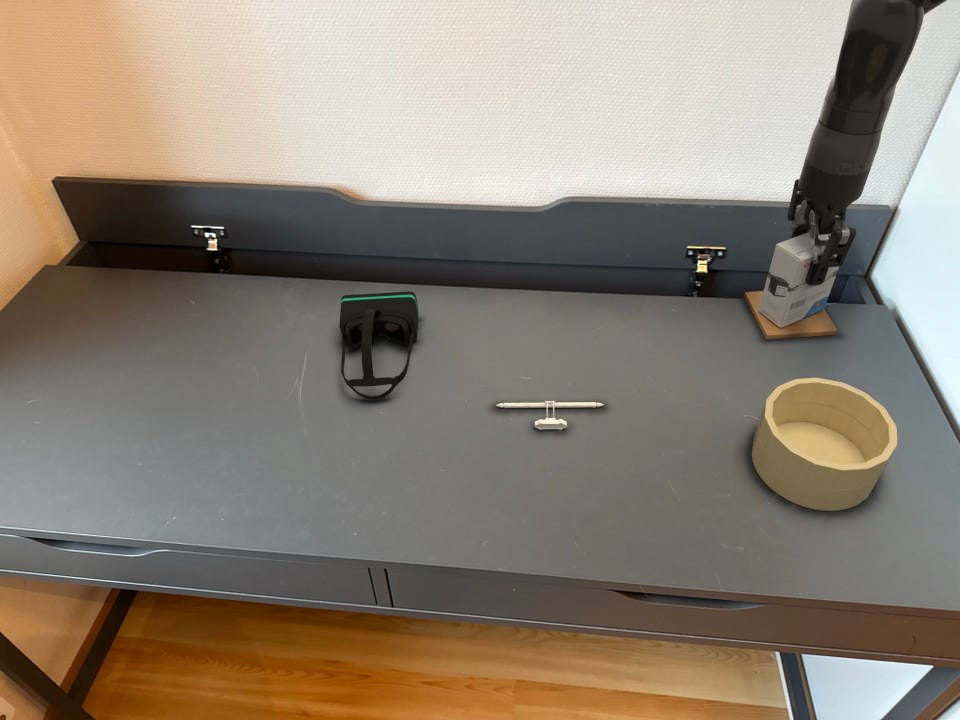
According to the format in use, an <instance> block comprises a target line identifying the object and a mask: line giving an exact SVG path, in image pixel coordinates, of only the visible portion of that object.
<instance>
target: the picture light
mask: <svg viewBox="0 0 960 720" xmlns="http://www.w3.org/2000/svg"><path fill="white" fill-rule="evenodd" d="M602 406H604V403H601V402H596V401H592V402H591V401H590V402H587V401H586V402H579V401H577V402H575V401H574V402H556V401H555V400H554V399H553V400H551V401H550V400H545V401H544V402H501V403H497V404H496V405H495V407H498V408H502V409H503V408H504V409H529V408H530V409H531V408H533V409H534V408H536V409H539V408H540V409H541V408H546V417H545V418H544V419H542V418H540V419H538V420H535V421H534V428H535V429H538V430H540V431H541V430H559V431H563V429H567V427H568V422H567V421H566V420H564V419H562V418H559V419H557V418H556V417H555V408H592V409H593V408H594V409H595V408H600V407H602ZM548 408H550V409H551V408H552V414H553V416H552V417H548V416H549V411H548V410H549V409H548Z"/></svg>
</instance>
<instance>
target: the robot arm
mask: <svg viewBox="0 0 960 720" xmlns="http://www.w3.org/2000/svg"><path fill="white" fill-rule="evenodd" d="M947 1H948V0H851V4H850V7H849V11H848V17H847V22H846V26H845V29H844V34H843V38H842V42H841V46H840V51H839V54H838V59H837V63H836V67H835V71H834V74H833V76H832V78H831V80H830V82H829V84H828V87H827V89H826V93H825V96H824V99H823V103H822V106H821V109H820V114H819V117H818V120H817V123H816V124H815V127H814V129H813V131H812V134H811V136H810V137H811V138H810V140H809V144H808V147H807V151H806V154H805V157H804V161H803V165H802V168H801V172H800V176H799V178H798V179H795V180H794V184H793V189H792V193H791V197H790V202H789V207H788V211H787V220H788V221H789V222H790V221H791V224H790V230H791V231H792V233H791V236H790V239H792V238H794V237H797V236H800V235H803V234H805V233H808V232H810V244H811V245H812V246H813V260H812V261H811V264H810V267H809V270H808V274H807V277H806V280H805V281H806V283H807V285H809V286H811V285H821V284H822V283H823V282H824V280H825V277H826V275H827V272H828V269H829V267H839V268H840V267H842V266H843V264H844V262H845V260H846V257H847V256H848V253H849V251H850V249H851V247H852V245H853V243H854V240H855V238H856V235H857V230H856V228H855V227H847V225H846V223H845V221H846V219H847V218H846V217H847V208H848V207H850V206H851V204H854V202H856V201H857V200H859V199H860V198H861V196H862V195H863V192H864V189H865V186H866V184H867V181H868V178H869V176H870V172H871V169H872V166H873V164H874V161H875V159H876V155H877V152H878V150H879V146H880V143H881V137H882V133H883V128H884V125H885V123H886V120H887V118H888V114H889V111H890V108H891V106H892V104H893V101H894V96H895V92H896V89H897V84H898V82H899V80H900V79H901V76H902V75H903V73H904V70H905V68H906V66H907V64H908V62H909V59H910V58H911V56H912V53H913V50H914V49H915V46H916V44H917V40H918V38H919V35H920V33H921V30H922V27H923V22H924V18H925V17H924V16H926V15H927V14H928V13H929V12H931V11H933V10H934V9H936V8H937V7H939V6H941V5H942V4H944V3H945V2H947ZM798 206H800V207H799V208H798ZM797 208H798V209H797ZM828 234H829V235H828ZM818 235H828V238H827V239H819V237H818ZM825 245H826V247H825V249H824V251H823V254H821V247H822V246H825ZM836 254H837V256H836Z"/></svg>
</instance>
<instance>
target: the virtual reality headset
mask: <svg viewBox="0 0 960 720" xmlns="http://www.w3.org/2000/svg"><path fill="white" fill-rule="evenodd" d="M339 311H340V312H339V325H338V326H339V330H340V331H339V332H340V333H341V337H342V352H341V361H340V362H341V363H340V365H341V366H340V372H341V376H342V378H343V380H344V382H345V384H346V386H347V387H349V388H350V389H351V390H352V391H353V392H354V393H355V394H357V395H358V396H360V397H361V398H363V399H365V400H371V401H377V400H382V399H385V398H386V397H388V396H389V395H390V394H391V393H392V392H393V391H394V390H395V388H396V387H397V386H398V385H399V384H400V383H401V382H402V381H403V380H404V378H405V377H406V376H407V373H408V369H409V366H410V358H411V352H412V348H413V343H414V342H415V341H417V339H418V327H419V315H420V313H419V304H418V299H417V295H416V293H414V291H411V290H410V291H395V292H394V291H391V292H378V293H360V294H359V293H358V294H345V295H342V297H341V298H340V310H339ZM381 336H384V337H386V338H388V341H389V342H391V343H395V344H398V345H400V346H403V347H405V348H407V349H408V350H407V355H406V363H405V365H404V368H403V369H402V371H401V372H400V373H399V374H398V375H395V376H394V377H392V376H386V377H385V376H383V377H376V375H374V368H373V350H372V349H373V348H372V343H373V342H374V339H376V338H378V337H381ZM346 345H347V348H348V350H349V351H353V352H354V351H356V350H358V349H360V350H361V366H362V368H361V369H362V373H363V375H362V378H351V379H347V378H346V375H345V362H346V361H345V360H346ZM388 385H391V386H390V388H388V389H387V390H386V391H384V392H383V393H381V394H378V395H367V394H364V393H361V392H360V391H358V390H357V389H355V388H354V387H359V388H360V387H362V388H363V387H364V388H365V387H378V386H388Z"/></svg>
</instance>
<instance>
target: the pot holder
mask: <svg viewBox="0 0 960 720" xmlns="http://www.w3.org/2000/svg"><path fill="white" fill-rule="evenodd" d="M763 291H764V290H757V291H756V290H755V291H745V292H744V294H743V297H744V300H745V301H746V303H747V305H748V307H749V309H750V311H751V314H752V315H753V317H754V319H755V321H756V323H757V325H758V326H759V329H760V330H761V333H762V334H763V337H764V338H765V340H777V339H778V340H780V339H794V338H809V337H822V336H823V337H825V336H837V334H838V331H839V330H838V328H837V327H836V325H835V324H834V322H833V321H832V319H831V317H830V316H829V314H828V312H827V311H826V310H825V308H824V310H822V311H820V312H817V313H815V314H813V315H810V316H808V317H806V318H803V319H801V320H799V321H797V322H794V323H792V324H790V325H787V326H785V327H783V328H780V327H778V326H777V325H776V324H774V323H773V322H772V321H771V320H769V319H768V318H767V317H766V316H764V315H763V314H762V313H761V312H759V311H758V309H759V306H760V302H761V298H762V295H763Z"/></svg>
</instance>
